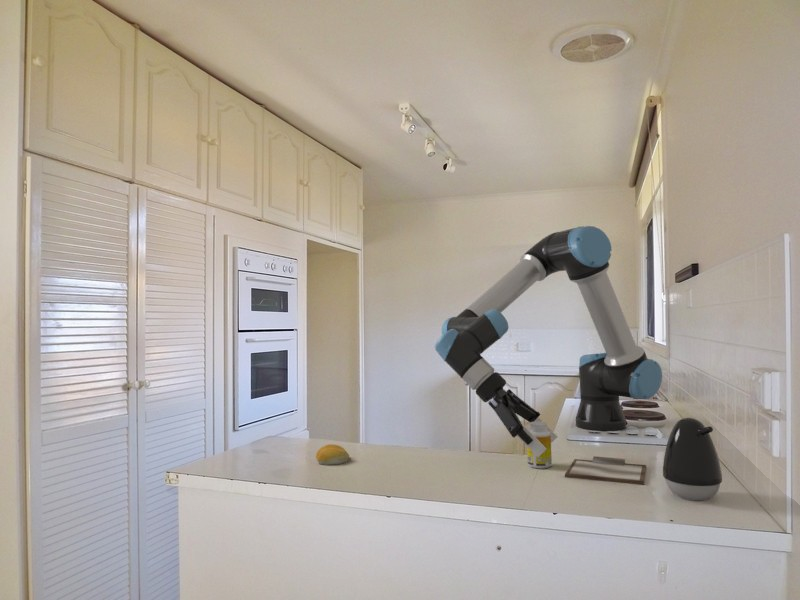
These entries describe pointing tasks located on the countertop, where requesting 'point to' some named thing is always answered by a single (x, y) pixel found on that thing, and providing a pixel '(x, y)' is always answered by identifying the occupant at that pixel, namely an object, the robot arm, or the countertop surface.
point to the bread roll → (332, 455)
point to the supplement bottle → (545, 438)
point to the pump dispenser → (692, 461)
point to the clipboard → (607, 470)
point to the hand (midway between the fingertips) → (548, 446)
